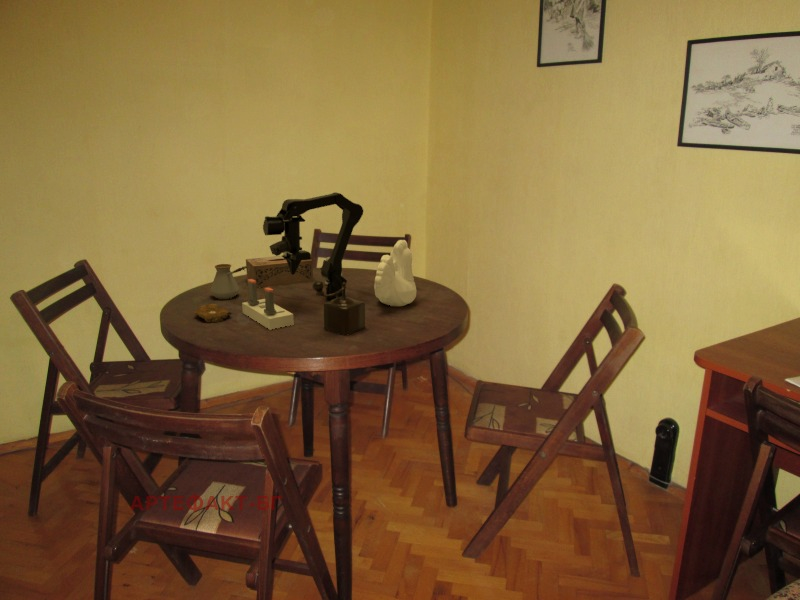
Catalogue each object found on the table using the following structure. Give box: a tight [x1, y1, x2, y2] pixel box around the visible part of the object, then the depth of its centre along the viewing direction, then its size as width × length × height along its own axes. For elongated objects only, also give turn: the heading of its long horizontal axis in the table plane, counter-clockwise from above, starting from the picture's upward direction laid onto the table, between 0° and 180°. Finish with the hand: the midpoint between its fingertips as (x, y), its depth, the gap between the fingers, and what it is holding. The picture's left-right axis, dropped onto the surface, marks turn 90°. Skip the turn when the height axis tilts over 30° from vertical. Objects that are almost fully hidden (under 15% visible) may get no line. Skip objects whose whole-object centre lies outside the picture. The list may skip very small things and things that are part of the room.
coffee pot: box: [209, 263, 249, 300], centre depth 240 cm, size 21×12×15 cm, turn 51°
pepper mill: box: [311, 280, 366, 336], centre depth 205 cm, size 16×11×18 cm
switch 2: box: [263, 287, 276, 315], centre depth 210 cm, size 3×4×9 cm
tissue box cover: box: [245, 255, 314, 289], centre depth 268 cm, size 26×14×10 cm, turn 117°
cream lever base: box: [241, 298, 295, 331], centre depth 218 cm, size 9×23×4 cm, turn 37°
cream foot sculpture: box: [373, 239, 417, 307], centre depth 232 cm, size 25×16×25 cm, turn 143°
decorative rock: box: [193, 303, 233, 323], centre depth 221 cm, size 11×4×15 cm
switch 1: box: [246, 279, 259, 305], centre depth 221 cm, size 3×4×9 cm
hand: (292, 274), depth 231 cm, fingers closed
